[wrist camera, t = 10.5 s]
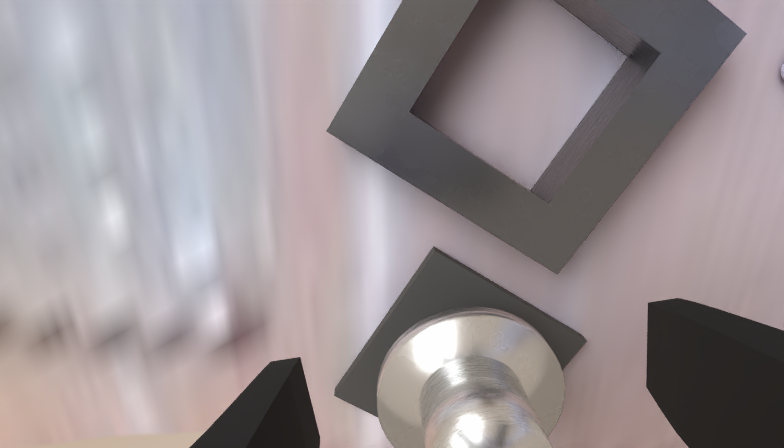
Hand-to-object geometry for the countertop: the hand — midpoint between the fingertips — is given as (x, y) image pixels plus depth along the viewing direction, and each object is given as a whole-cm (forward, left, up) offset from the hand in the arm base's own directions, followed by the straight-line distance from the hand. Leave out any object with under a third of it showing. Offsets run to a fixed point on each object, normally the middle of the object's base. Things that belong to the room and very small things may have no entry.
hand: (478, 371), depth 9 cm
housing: (0, -6, -10) cm, 12 cm away
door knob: (-4, +4, -9) cm, 11 cm away
